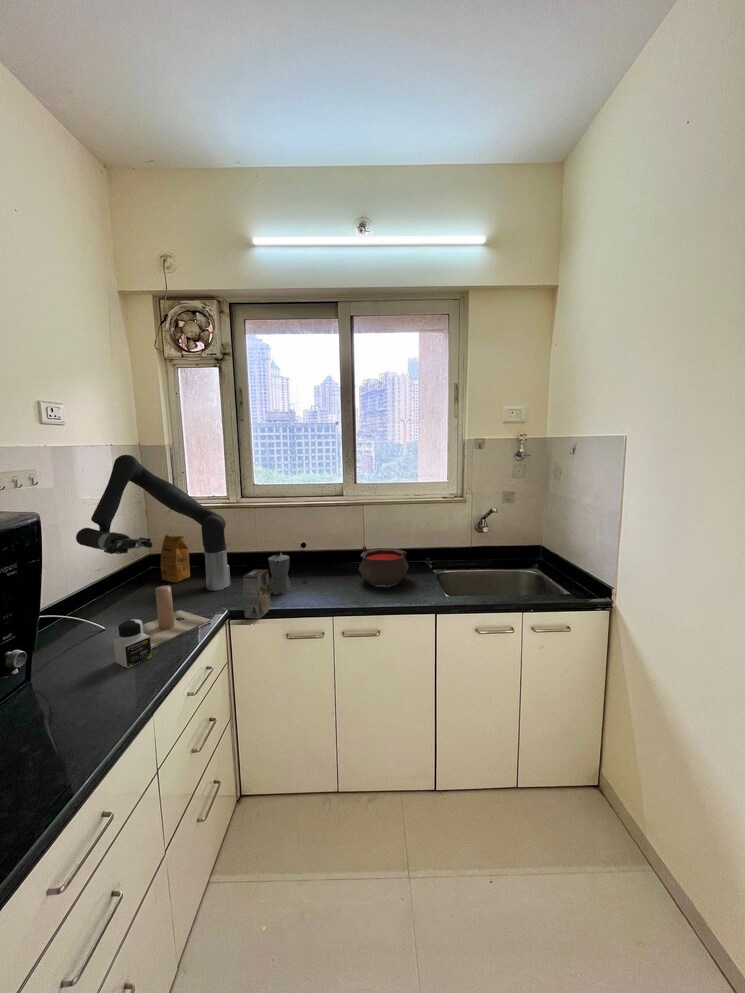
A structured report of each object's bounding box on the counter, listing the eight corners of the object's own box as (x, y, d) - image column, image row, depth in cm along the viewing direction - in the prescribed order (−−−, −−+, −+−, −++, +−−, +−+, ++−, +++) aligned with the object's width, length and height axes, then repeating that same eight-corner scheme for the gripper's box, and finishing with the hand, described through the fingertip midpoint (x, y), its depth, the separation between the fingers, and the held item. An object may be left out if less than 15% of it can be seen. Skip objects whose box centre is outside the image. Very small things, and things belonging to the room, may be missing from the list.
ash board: (180, 613, 151) (180, 610, 151) (211, 622, 142) (211, 619, 142) (120, 637, 132) (120, 633, 132) (151, 650, 123) (151, 646, 123)
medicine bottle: (127, 669, 113) (123, 629, 111) (115, 662, 116) (111, 624, 115) (152, 657, 119) (148, 620, 117) (139, 651, 122) (136, 615, 121)
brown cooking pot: (418, 579, 186) (418, 545, 184) (393, 595, 166) (393, 557, 164) (375, 571, 199) (375, 539, 197) (347, 585, 179) (347, 550, 177)
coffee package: (176, 574, 198) (172, 532, 195) (193, 577, 193) (190, 533, 190) (158, 580, 189) (154, 536, 187) (175, 584, 184) (172, 538, 181)
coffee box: (256, 608, 155) (254, 568, 153) (271, 609, 153) (269, 569, 151) (244, 618, 146) (241, 576, 144) (260, 619, 145) (257, 577, 143)
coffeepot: (290, 595, 167) (288, 554, 165) (267, 597, 166) (265, 555, 164) (292, 583, 183) (291, 545, 180) (271, 584, 181) (270, 546, 179)
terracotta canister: (169, 622, 140) (165, 584, 139) (177, 625, 138) (173, 586, 136) (156, 627, 136) (152, 589, 134) (164, 630, 134) (160, 591, 132)
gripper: (92, 536, 142) (116, 541, 134) (133, 529, 154) (157, 533, 146) (94, 557, 143) (119, 562, 135) (134, 548, 155) (159, 552, 147)
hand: (139, 547), depth 140 cm, fingers open, 8 cm apart
